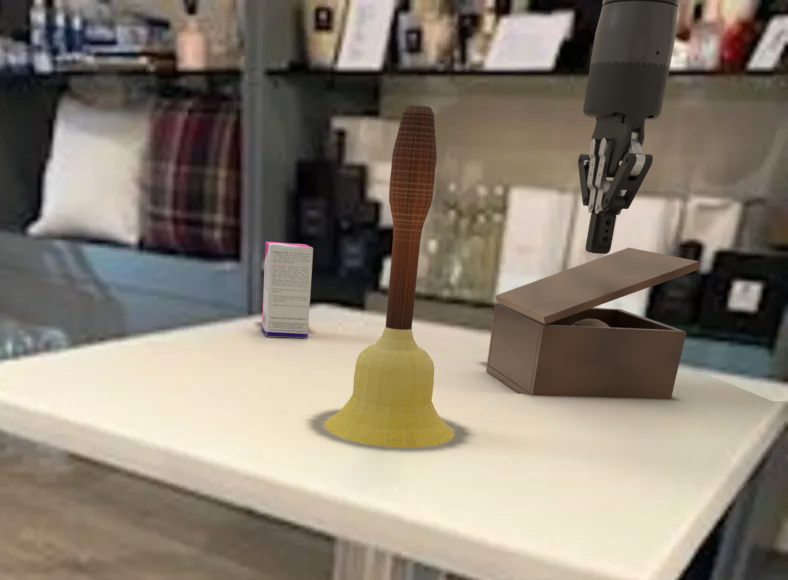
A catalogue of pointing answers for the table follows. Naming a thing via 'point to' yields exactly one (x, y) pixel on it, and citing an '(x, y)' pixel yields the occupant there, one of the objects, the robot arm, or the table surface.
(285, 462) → the table surface
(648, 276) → the lid
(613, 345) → the brown open box
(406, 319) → the handbell
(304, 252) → the supplement box
